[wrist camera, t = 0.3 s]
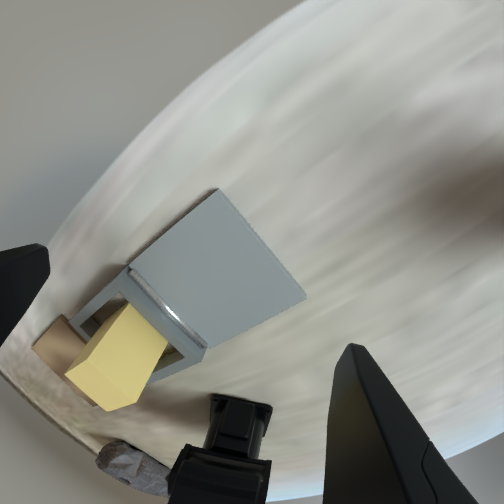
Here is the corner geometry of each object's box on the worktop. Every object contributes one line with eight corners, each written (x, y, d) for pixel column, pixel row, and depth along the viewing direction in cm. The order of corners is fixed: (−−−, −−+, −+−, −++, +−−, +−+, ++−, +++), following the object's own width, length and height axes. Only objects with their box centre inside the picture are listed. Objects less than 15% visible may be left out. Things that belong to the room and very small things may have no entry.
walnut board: (137, 386, 34) (135, 390, 33) (94, 403, 39) (93, 406, 38) (62, 314, 31) (59, 317, 30) (33, 345, 36) (31, 348, 35)
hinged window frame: (306, 294, 24) (305, 310, 22) (145, 375, 32) (138, 388, 31) (218, 188, 21) (210, 197, 20) (78, 310, 30) (68, 322, 28)
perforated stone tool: (190, 475, 45) (179, 507, 39) (173, 477, 47) (162, 507, 41) (118, 431, 42) (101, 464, 36) (106, 435, 44) (89, 466, 38)
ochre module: (171, 336, 29) (136, 402, 22) (141, 353, 31) (107, 411, 24) (132, 298, 27) (87, 359, 20) (106, 319, 29) (64, 374, 22)
